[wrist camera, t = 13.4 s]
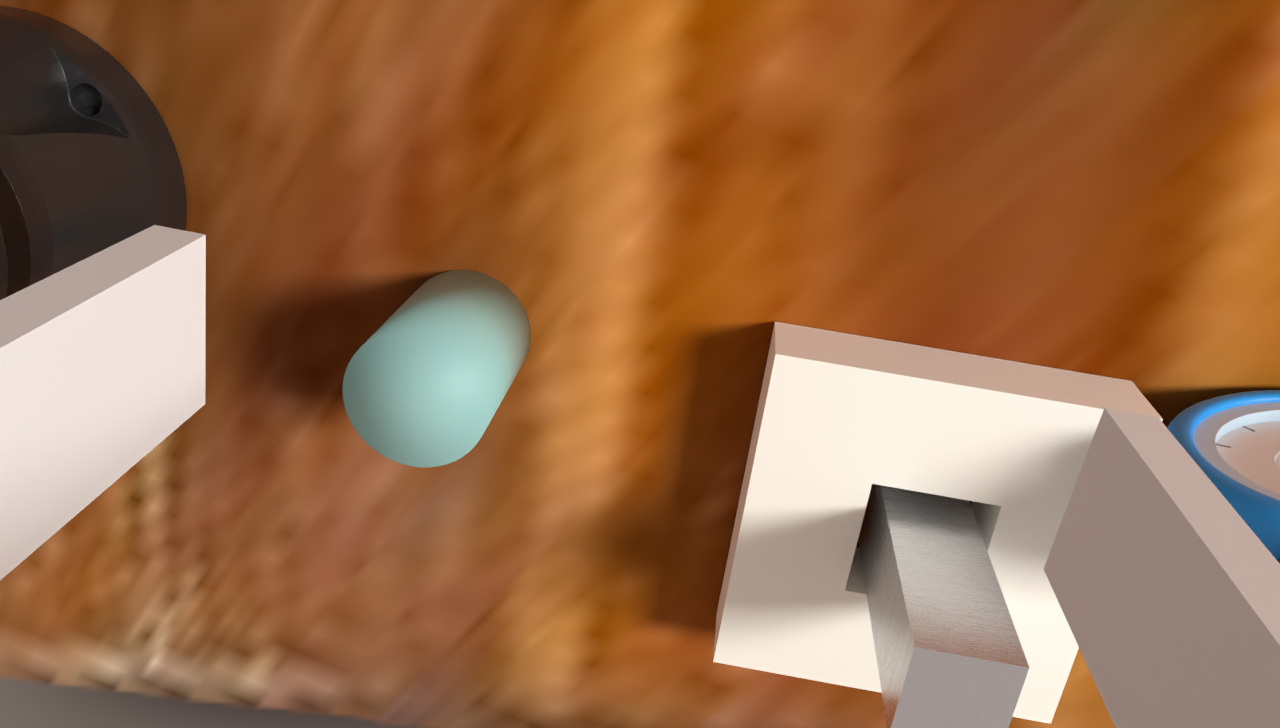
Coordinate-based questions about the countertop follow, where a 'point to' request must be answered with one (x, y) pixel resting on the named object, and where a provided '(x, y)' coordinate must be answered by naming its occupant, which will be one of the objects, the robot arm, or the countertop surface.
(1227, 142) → the countertop surface
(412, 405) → the pale teal capsule
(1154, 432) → the robot arm
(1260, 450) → the alarm clock
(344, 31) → the countertop surface
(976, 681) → the square bit
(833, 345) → the bore block
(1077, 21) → the countertop surface
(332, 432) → the countertop surface
